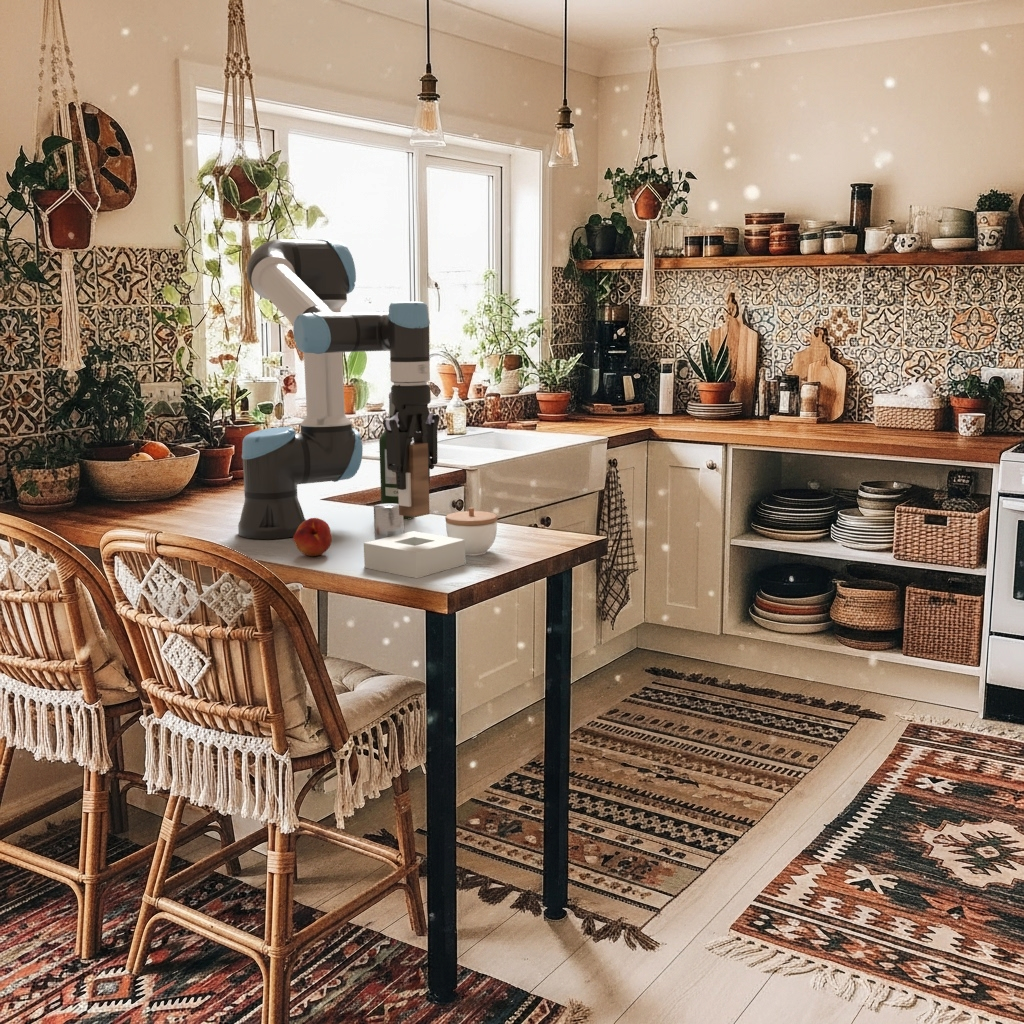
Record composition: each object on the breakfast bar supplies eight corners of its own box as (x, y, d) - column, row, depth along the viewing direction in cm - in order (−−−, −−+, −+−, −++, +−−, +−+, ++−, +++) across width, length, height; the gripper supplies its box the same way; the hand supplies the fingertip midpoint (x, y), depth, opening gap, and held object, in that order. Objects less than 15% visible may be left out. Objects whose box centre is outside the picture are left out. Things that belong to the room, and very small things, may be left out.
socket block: (364, 567, 223) (363, 542, 222) (413, 554, 233) (413, 531, 233) (416, 578, 214) (415, 552, 213) (465, 564, 225) (464, 539, 224)
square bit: (399, 515, 221) (396, 443, 219) (413, 511, 225) (412, 441, 222) (414, 517, 219) (412, 445, 216) (429, 514, 222) (427, 443, 219)
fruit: (288, 559, 230) (286, 521, 229) (301, 551, 238) (300, 513, 236) (325, 561, 229) (324, 522, 227) (338, 552, 237) (336, 514, 235)
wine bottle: (392, 521, 268) (388, 394, 262) (375, 516, 274) (371, 392, 268) (420, 517, 272) (417, 392, 267) (403, 512, 279) (400, 390, 273)
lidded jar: (508, 551, 236) (508, 507, 234) (472, 560, 228) (472, 515, 226) (471, 544, 243) (470, 501, 241) (435, 553, 235) (434, 508, 233)
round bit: (369, 554, 235) (367, 506, 233) (389, 549, 239) (388, 502, 237) (389, 558, 231) (388, 509, 229) (410, 552, 235) (409, 505, 234)
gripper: (392, 387, 208) (396, 512, 212) (455, 381, 221) (457, 499, 226) (364, 385, 213) (368, 508, 217) (427, 380, 226) (429, 495, 230)
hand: (413, 503), depth 221 cm, fingers closed on square bit, 4 cm apart
